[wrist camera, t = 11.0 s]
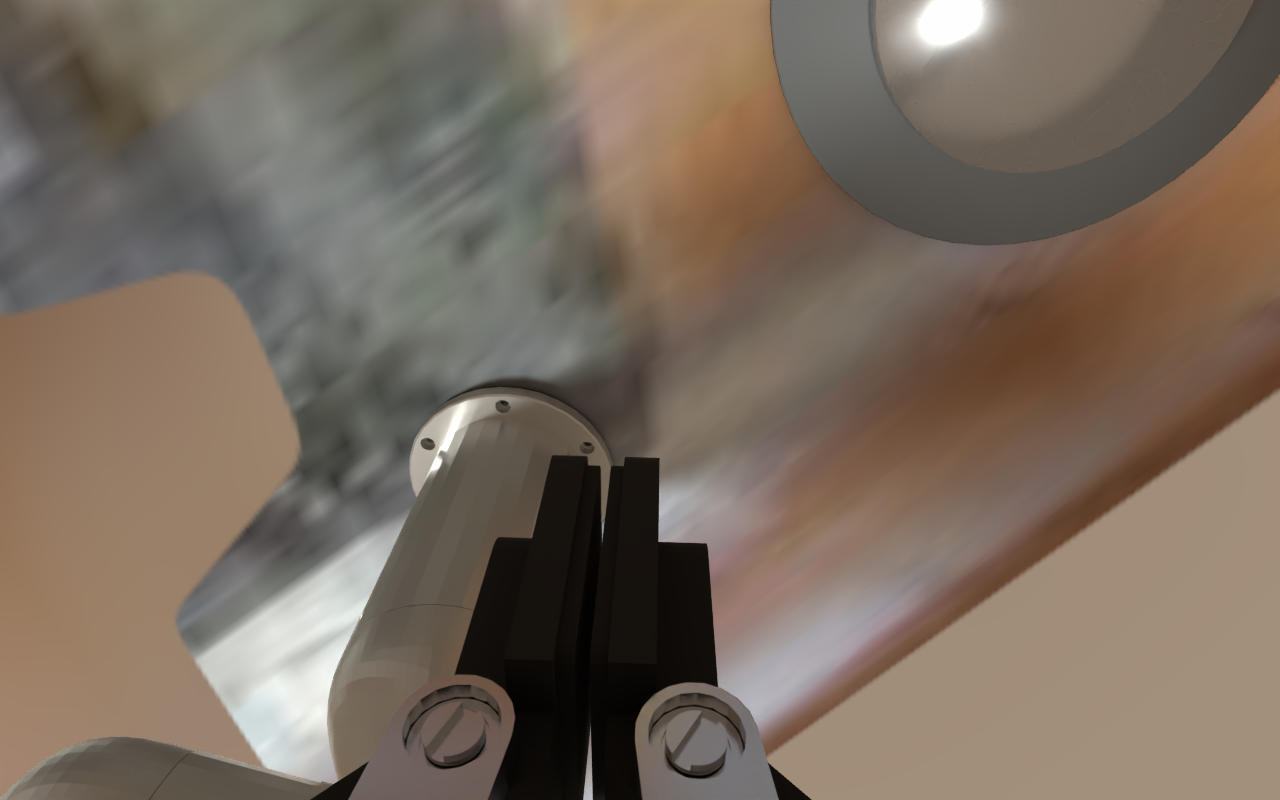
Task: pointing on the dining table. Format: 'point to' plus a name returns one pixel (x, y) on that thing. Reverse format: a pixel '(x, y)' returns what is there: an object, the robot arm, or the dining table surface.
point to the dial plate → (973, 196)
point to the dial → (1044, 71)
